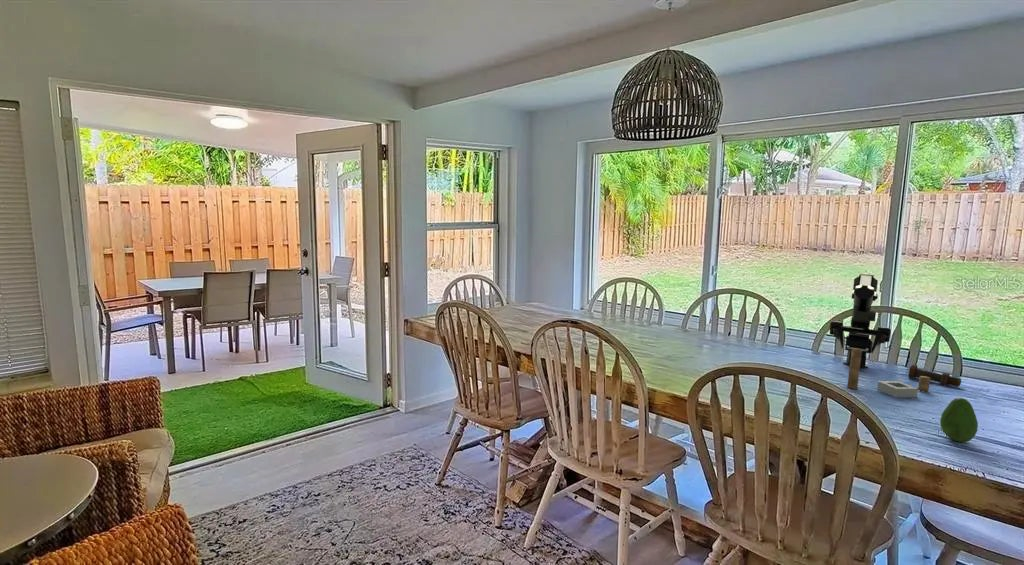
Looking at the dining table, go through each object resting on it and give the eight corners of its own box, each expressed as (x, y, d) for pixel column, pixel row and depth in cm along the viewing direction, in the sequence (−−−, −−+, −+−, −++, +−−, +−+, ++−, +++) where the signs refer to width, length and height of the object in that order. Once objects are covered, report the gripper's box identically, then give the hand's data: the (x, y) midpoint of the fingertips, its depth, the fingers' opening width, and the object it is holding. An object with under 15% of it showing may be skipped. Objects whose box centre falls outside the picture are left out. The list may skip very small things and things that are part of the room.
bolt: (957, 393, 197) (908, 381, 208) (961, 384, 199) (912, 372, 210) (958, 381, 194) (908, 369, 205) (962, 372, 196) (912, 361, 207)
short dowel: (915, 389, 194) (917, 375, 193) (923, 389, 194) (925, 375, 193) (922, 392, 191) (924, 378, 190) (930, 392, 191) (932, 378, 190)
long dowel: (845, 386, 195) (849, 348, 193) (852, 386, 195) (857, 348, 193) (851, 389, 192) (856, 350, 190) (859, 389, 192) (864, 350, 190)
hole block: (877, 389, 192) (878, 381, 192) (897, 389, 193) (898, 381, 193) (895, 397, 184) (896, 389, 184) (917, 397, 185) (918, 388, 185)
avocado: (957, 434, 155) (964, 394, 153) (982, 447, 147) (989, 404, 145) (930, 434, 154) (936, 393, 153) (953, 446, 147) (960, 403, 145)
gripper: (833, 299, 204) (827, 333, 196) (894, 305, 194) (890, 342, 186) (832, 317, 211) (826, 350, 204) (890, 324, 201) (887, 359, 194)
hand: (857, 350), depth 197 cm, fingers open, 9 cm apart
